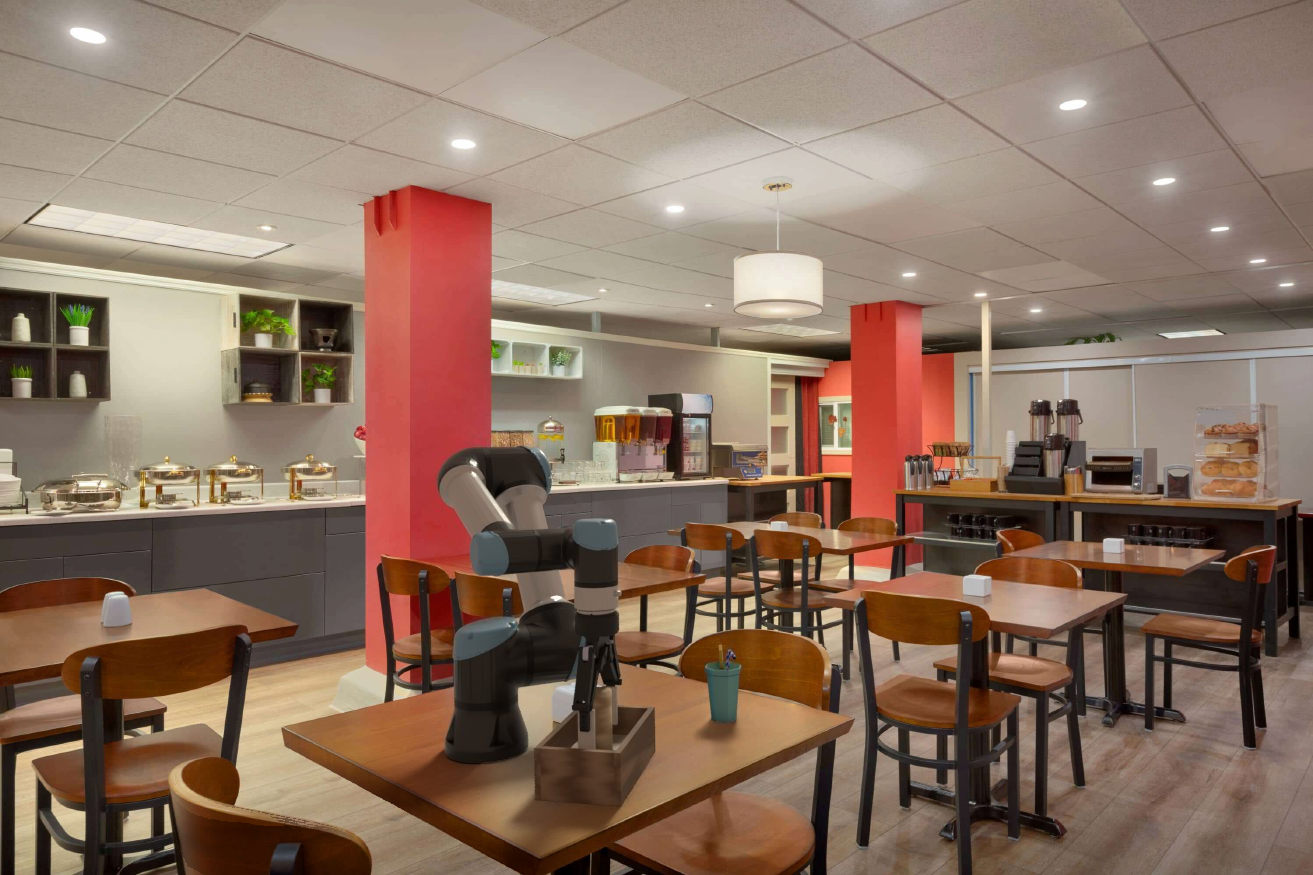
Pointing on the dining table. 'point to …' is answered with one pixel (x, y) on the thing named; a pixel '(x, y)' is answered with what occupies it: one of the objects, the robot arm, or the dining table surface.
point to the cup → (723, 687)
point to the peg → (603, 718)
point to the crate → (595, 760)
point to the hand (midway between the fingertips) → (598, 736)
